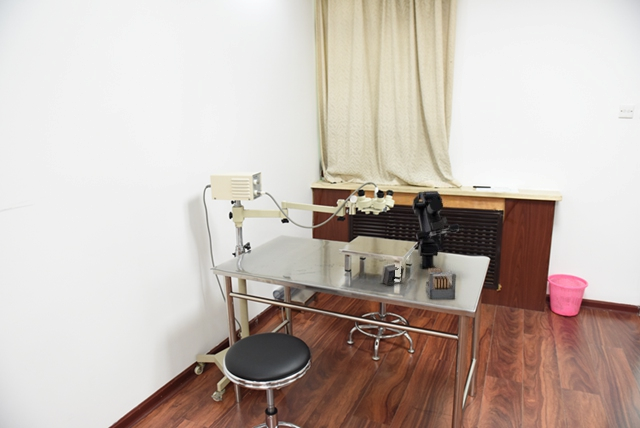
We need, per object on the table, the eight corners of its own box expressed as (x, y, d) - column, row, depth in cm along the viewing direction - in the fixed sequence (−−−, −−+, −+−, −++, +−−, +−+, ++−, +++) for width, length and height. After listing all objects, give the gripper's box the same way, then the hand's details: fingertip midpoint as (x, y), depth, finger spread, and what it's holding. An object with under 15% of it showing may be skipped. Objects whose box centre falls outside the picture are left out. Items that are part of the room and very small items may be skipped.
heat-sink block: (427, 285, 177) (427, 268, 176) (441, 285, 177) (442, 267, 175) (434, 298, 164) (434, 279, 162) (449, 298, 163) (449, 279, 162)
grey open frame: (425, 290, 171) (425, 267, 169) (449, 290, 170) (450, 267, 168) (429, 299, 163) (430, 274, 161) (455, 299, 162) (455, 274, 160)
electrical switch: (398, 279, 186) (399, 260, 183) (404, 283, 181) (405, 264, 178) (380, 283, 182) (381, 263, 179) (386, 287, 178) (387, 268, 175)
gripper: (413, 217, 180) (422, 251, 176) (456, 208, 177) (466, 242, 173) (412, 223, 190) (421, 255, 186) (453, 214, 188) (462, 247, 184)
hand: (442, 250), depth 182 cm, fingers closed
